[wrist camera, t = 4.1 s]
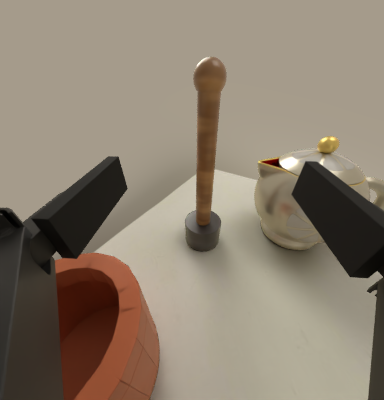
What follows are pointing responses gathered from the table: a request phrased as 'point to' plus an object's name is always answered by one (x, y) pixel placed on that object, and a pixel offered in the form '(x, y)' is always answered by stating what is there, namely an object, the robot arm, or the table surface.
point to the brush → (206, 154)
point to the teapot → (284, 184)
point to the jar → (104, 331)
